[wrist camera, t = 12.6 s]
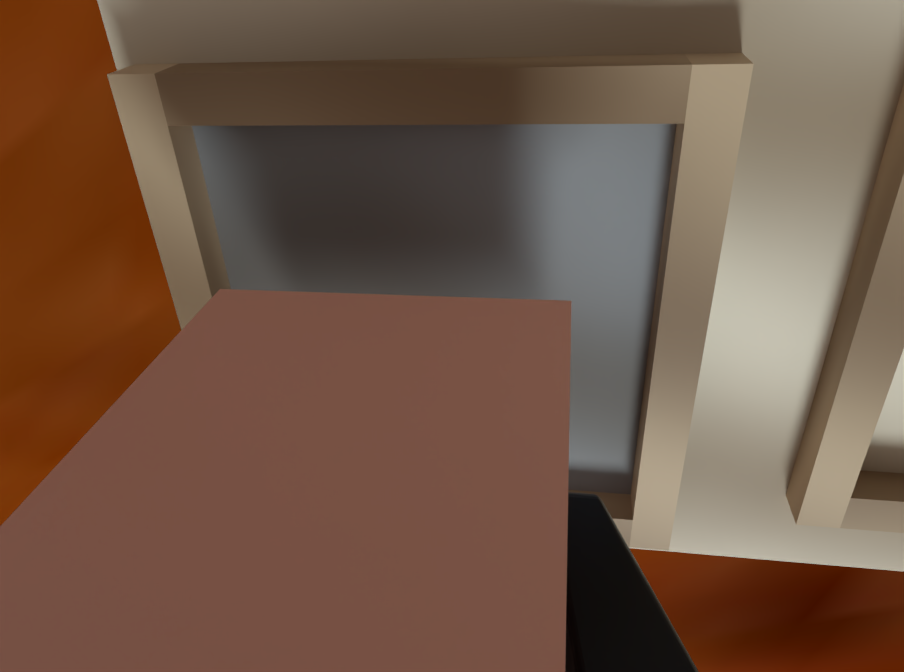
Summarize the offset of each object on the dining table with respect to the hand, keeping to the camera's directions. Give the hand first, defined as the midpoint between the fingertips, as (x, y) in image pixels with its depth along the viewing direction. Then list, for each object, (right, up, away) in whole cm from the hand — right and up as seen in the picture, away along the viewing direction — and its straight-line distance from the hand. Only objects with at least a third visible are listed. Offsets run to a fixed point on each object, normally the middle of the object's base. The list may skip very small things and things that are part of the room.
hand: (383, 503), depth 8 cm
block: (0, +1, +1) cm, 1 cm away
